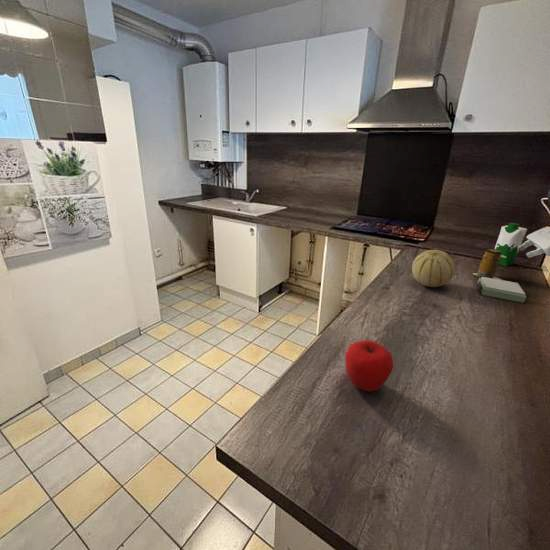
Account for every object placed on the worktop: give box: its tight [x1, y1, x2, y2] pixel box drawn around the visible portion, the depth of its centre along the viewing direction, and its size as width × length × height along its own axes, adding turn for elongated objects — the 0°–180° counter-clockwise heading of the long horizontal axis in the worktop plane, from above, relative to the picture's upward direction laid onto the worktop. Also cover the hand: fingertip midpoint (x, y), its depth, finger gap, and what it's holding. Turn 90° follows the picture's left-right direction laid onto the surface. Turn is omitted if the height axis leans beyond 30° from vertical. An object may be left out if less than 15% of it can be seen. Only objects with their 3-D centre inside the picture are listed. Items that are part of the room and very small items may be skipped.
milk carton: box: [494, 222, 528, 267], centre depth 141 cm, size 9×9×20 cm
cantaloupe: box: [411, 249, 456, 288], centre depth 114 cm, size 15×15×15 cm
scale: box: [477, 277, 527, 304], centre depth 112 cm, size 13×12×3 cm
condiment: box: [471, 248, 502, 280], centre depth 124 cm, size 7×8×12 cm
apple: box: [344, 339, 394, 393], centre depth 63 cm, size 10×10×11 cm
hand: (523, 252), depth 117 cm, fingers open, 8 cm apart
